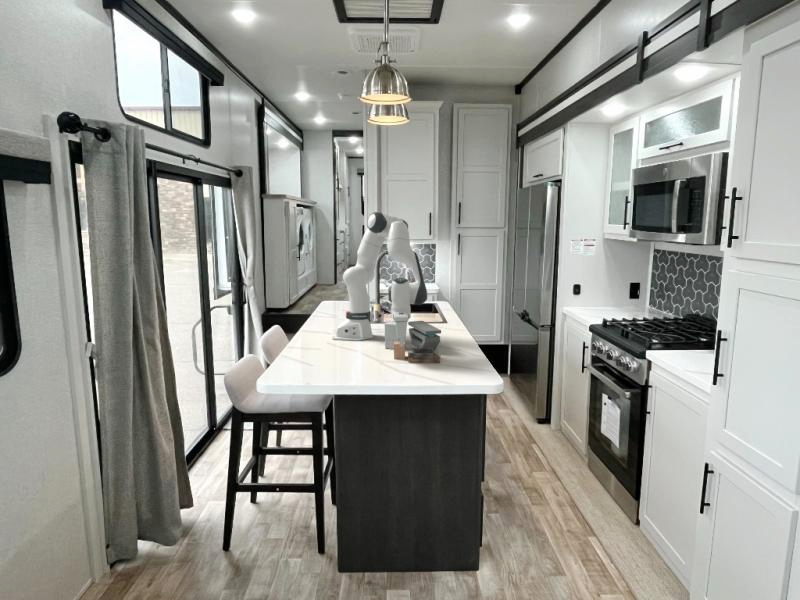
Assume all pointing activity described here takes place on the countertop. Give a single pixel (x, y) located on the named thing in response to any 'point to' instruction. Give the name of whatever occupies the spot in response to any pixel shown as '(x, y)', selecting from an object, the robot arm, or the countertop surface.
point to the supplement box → (390, 335)
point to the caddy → (423, 355)
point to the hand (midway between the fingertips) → (401, 343)
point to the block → (399, 351)
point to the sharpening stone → (424, 334)
